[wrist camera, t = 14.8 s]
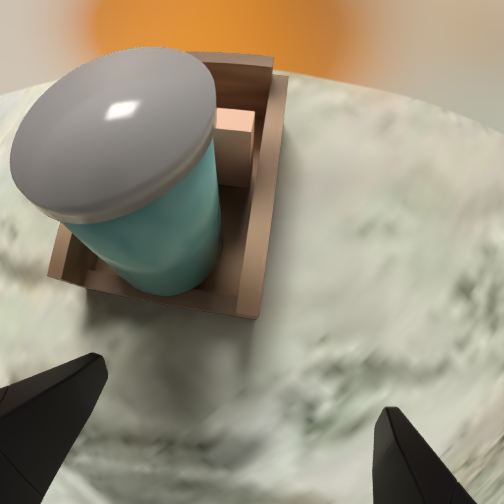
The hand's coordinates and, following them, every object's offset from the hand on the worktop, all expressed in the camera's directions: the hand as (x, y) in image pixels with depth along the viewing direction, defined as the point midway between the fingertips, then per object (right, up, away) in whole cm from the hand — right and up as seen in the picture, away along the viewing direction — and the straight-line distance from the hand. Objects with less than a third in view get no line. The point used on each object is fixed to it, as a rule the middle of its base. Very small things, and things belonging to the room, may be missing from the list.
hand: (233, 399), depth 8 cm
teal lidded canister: (-4, +5, +9) cm, 11 cm away
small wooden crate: (-4, +9, +11) cm, 15 cm away
